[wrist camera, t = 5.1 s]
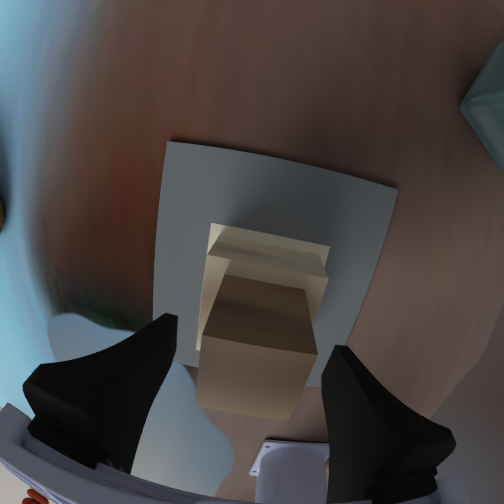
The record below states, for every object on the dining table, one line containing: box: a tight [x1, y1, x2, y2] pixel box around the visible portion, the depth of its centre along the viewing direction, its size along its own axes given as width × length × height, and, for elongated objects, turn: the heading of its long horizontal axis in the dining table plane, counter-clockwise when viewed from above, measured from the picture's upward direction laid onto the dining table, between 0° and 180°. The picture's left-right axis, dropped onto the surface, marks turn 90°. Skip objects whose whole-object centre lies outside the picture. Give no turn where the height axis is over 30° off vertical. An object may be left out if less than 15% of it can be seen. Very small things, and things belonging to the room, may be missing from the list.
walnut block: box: [195, 274, 318, 421], centre depth 12 cm, size 4×4×5 cm
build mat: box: [153, 141, 398, 387], centre depth 18 cm, size 16×14×1 cm
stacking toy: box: [22, 487, 49, 504], centre depth 27 cm, size 8×8×19 cm
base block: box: [196, 234, 329, 351], centre depth 16 cm, size 6×6×4 cm
